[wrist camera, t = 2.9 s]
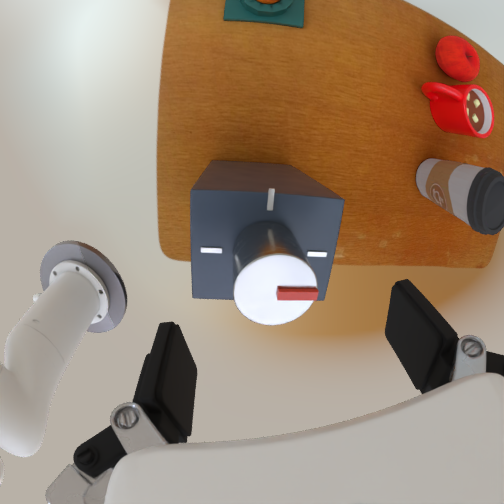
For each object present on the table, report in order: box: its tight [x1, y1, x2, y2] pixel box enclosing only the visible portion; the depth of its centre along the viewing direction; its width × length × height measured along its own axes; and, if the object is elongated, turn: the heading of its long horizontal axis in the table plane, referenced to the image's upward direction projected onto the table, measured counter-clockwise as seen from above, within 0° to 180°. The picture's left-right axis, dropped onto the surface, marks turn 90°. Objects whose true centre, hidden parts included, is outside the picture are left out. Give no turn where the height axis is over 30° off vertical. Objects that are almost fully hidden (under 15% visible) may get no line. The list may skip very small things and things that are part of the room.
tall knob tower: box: [190, 160, 345, 301], centre depth 27 cm, size 10×9×18 cm
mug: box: [421, 82, 494, 138], centre depth 26 cm, size 8×12×8 cm, turn 80°
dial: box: [233, 221, 319, 325], centre depth 16 cm, size 4×4×5 cm
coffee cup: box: [416, 158, 504, 235], centre depth 28 cm, size 8×8×15 cm
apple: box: [435, 36, 480, 82], centre depth 23 cm, size 8×8×7 cm
